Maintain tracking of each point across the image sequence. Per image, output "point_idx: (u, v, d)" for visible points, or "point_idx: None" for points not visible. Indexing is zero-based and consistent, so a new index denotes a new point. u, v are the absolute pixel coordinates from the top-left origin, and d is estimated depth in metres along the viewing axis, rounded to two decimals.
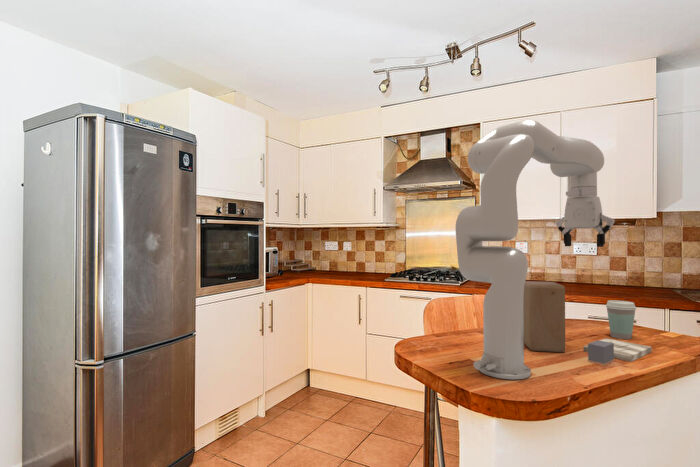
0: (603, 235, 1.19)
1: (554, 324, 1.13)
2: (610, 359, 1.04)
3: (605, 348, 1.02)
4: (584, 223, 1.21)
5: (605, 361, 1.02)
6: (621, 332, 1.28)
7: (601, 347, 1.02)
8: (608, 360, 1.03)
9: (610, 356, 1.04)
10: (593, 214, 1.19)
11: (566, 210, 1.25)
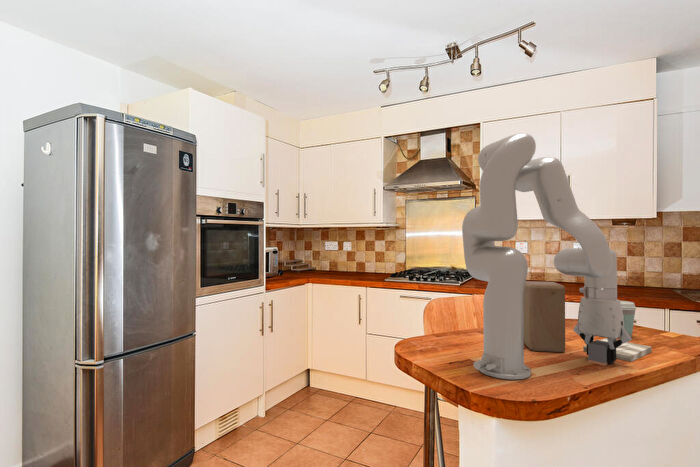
0: (614, 350, 1.02)
1: (554, 324, 1.13)
2: None
3: (605, 347, 1.02)
4: (602, 332, 1.02)
5: (605, 361, 1.02)
6: None
7: (601, 347, 1.02)
8: None
9: None
10: (613, 323, 1.00)
11: (580, 311, 1.07)
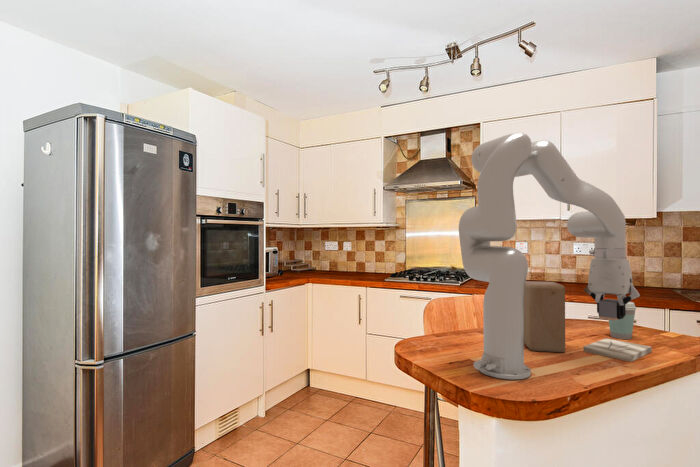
0: (623, 306, 1.09)
1: (554, 324, 1.13)
2: None
3: (615, 304, 1.08)
4: (612, 289, 1.09)
5: (615, 316, 1.08)
6: (621, 332, 1.28)
7: (611, 303, 1.09)
8: None
9: None
10: (622, 280, 1.07)
11: (591, 272, 1.13)
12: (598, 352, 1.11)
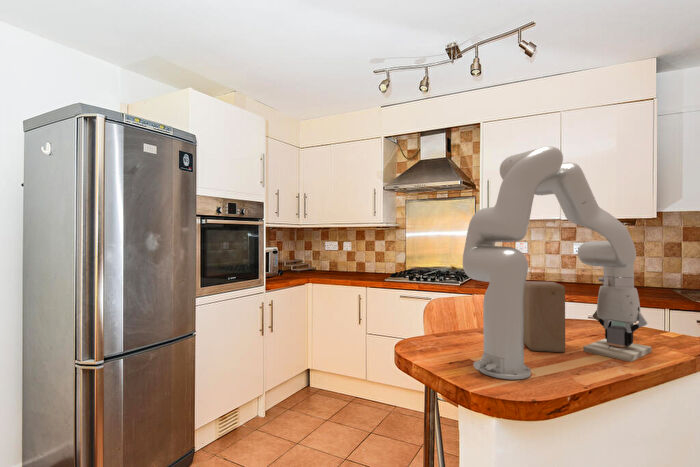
0: (631, 334, 1.12)
1: (554, 324, 1.13)
2: None
3: (623, 331, 1.12)
4: (620, 317, 1.12)
5: (623, 343, 1.12)
6: None
7: (619, 330, 1.12)
8: None
9: None
10: (630, 309, 1.10)
11: (599, 299, 1.17)
12: (598, 352, 1.11)
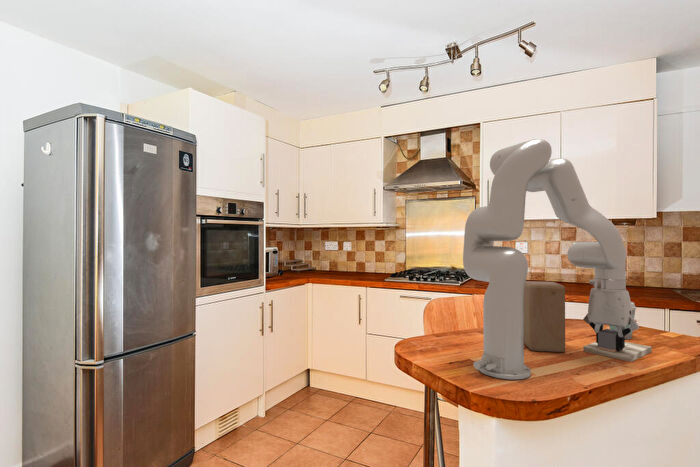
0: (623, 338, 1.08)
1: (554, 324, 1.13)
2: None
3: (614, 335, 1.08)
4: (611, 320, 1.08)
5: (614, 348, 1.08)
6: None
7: (611, 334, 1.08)
8: None
9: None
10: (622, 312, 1.06)
11: (590, 302, 1.13)
12: (598, 352, 1.11)
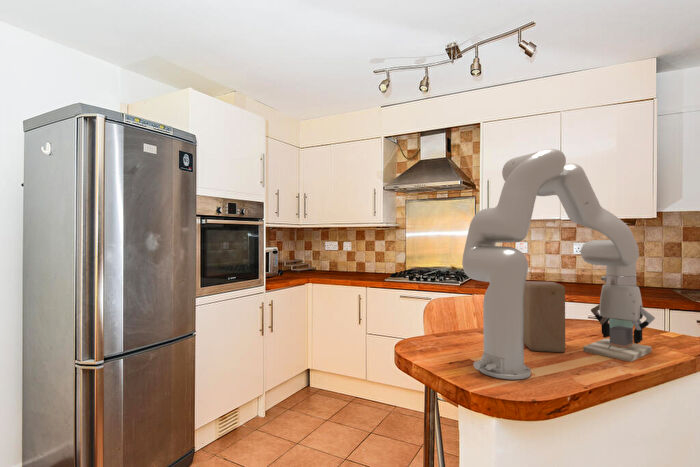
0: (640, 331, 1.12)
1: (554, 324, 1.13)
2: (630, 342, 1.15)
3: (625, 332, 1.13)
4: (623, 315, 1.13)
5: (626, 344, 1.13)
6: None
7: (622, 331, 1.13)
8: (628, 343, 1.14)
9: (629, 340, 1.14)
10: (633, 307, 1.11)
11: (602, 298, 1.18)
12: (598, 352, 1.11)
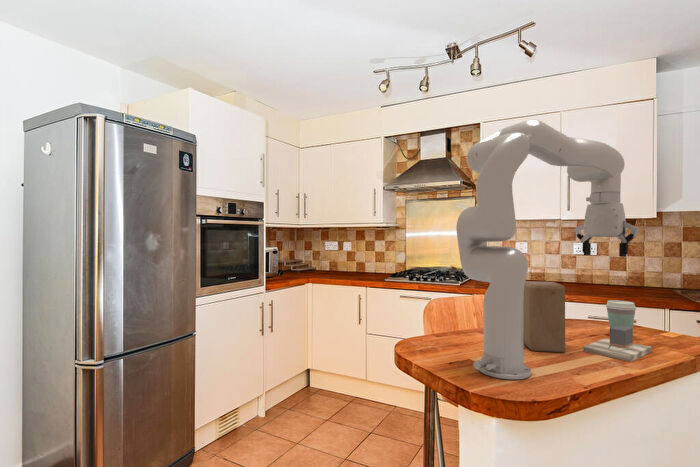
0: (626, 244, 1.11)
1: (554, 324, 1.13)
2: (630, 342, 1.15)
3: (625, 332, 1.13)
4: (606, 231, 1.13)
5: (626, 344, 1.13)
6: None
7: (622, 331, 1.13)
8: (628, 343, 1.14)
9: (629, 340, 1.14)
10: (616, 221, 1.11)
11: (586, 217, 1.18)
12: (598, 352, 1.11)
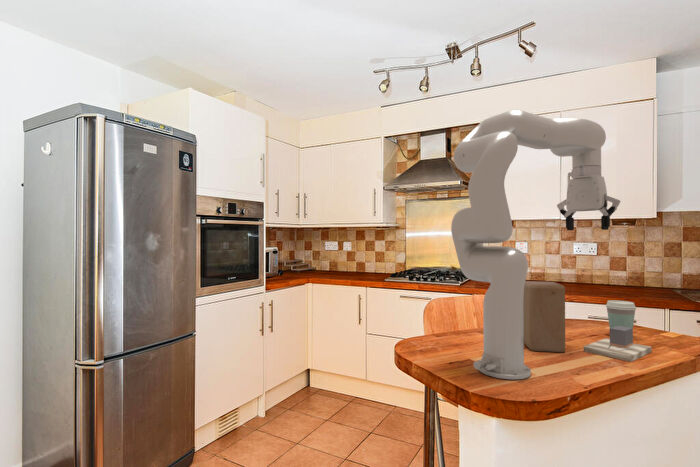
0: (608, 217, 1.12)
1: (554, 324, 1.13)
2: (630, 342, 1.15)
3: (625, 332, 1.13)
4: (588, 205, 1.14)
5: (626, 344, 1.13)
6: None
7: (622, 331, 1.13)
8: (628, 343, 1.14)
9: (629, 340, 1.14)
10: (597, 195, 1.12)
11: (568, 192, 1.18)
12: (598, 352, 1.11)
